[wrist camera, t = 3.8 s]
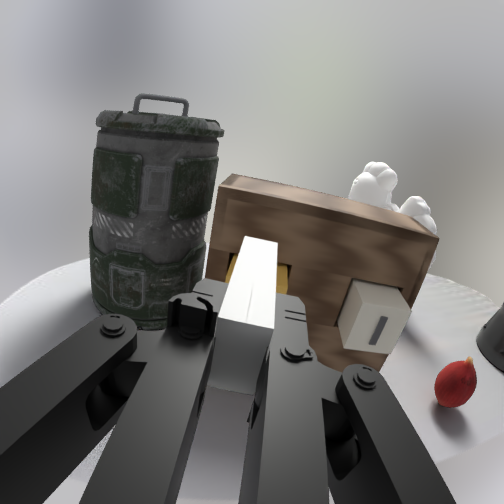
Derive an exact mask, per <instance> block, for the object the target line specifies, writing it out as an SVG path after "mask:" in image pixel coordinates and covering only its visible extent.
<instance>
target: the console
mask: <svg viewBox="0 0 504 504" xmlns="http://www.w3.org/2000/svg"><path fill="white" fill-rule="evenodd" d="M245 236H248V237H253V238H257V239H262V240H267V241H271V242H276V243H278V246H277V262H280V263H284V264H287V279H288V289H287V293H286V295H290V296H295V297H299V299H300V300H301V301H302V303H303V304H304V305H305V313H306V314H305V315H306V323H307V332H308V342H309V346H310V347H311V348H312V349H313V350H314V351H315V353H316V356H317V361H318V362H320V363H321V364H323V365H325V366H327V367H329V368H331V369H334V370H337V371H339V372H343V370H344V369H345V368H346V367H347V366H349V365H353V364H363V365H366V366H369V367H372V368H373V369H375V370H376V371H378V372H379V371H380V369H381V367H382V366H383V364H384V362H385V360H386V358H387V357H388V355H389V354H384V353H375V352H367V351H360V350H352V349H345V348H343V343H342V339H341V335H340V331H339V327H338V322H337V317H338V315H339V312H340V309H341V307H342V304H343V301H344V299H345V296H346V293H347V290H348V288H349V285H350V282H351V279H352V278H357V279H362V280H367V281H372V282H377V283H382V284H387V285H392V286H396V287H397V288H398V290H399V291H400V293H401V295H402V296H403V298H404V299H405V301H406V303H407V304H408V306H409V307H410V309H411V308H412V306H413V304H414V302H415V299H416V297H417V295H418V292H419V290H420V288H421V285H422V283H423V281H424V278H425V276H426V273H427V271H428V268H429V266H430V263H431V261H432V258H433V255H434V253H435V250H436V247H437V244H438V242H439V238H438V237H437V236H436V235H435V234H433V233H432V232H431V231H430V230H428V229H427V228H426V227H424V226H423V225H422V224H421V223H419V222H418V221H417V220H415V219H414V218H413V217H411V216H408V215H405V214H402V213H398V212H395V211H391V210H387V209H384V208H380V207H377V206H373V205H369V204H365V203H362V202H358V201H354V200H350V199H346V198H342V197H338V196H334V195H330V194H326V193H322V192H317V191H313V190H309V189H304V188H300V187H295V186H291V185H286V184H282V183H277V182H272V181H267V180H262V179H257V178H253V177H247V176H242V175H237V174H231V175H230V176H229V177H228V178H227V179H226V180H225V181H224V182H222V183H221V184H220V185H219V187H218V193H217V199H216V206H215V212H214V218H213V225H212V231H211V238H210V245H209V252H208V259H207V266H206V274H205V278H207V279H211V280H216V281H220V282H225V280H226V275H227V272H228V270H229V267H230V264H231V261H232V259H233V256H234V253H236V254H239V252H240V249H241V246H242V243H243V240H244V237H245Z"/></svg>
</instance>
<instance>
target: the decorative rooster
mask: <svg viewBox="0 0 504 504" xmlns="http://www.w3.org/2000/svg"><path fill="white" fill-rule="evenodd" d="M397 181H398V177H397V174H396V173H395V172H394V171H393V170H391V169H390V167H389V166H388V165H387V164H385V163H382V162H378V163H375V162H370V163H368V164H367V165H366V166H365V168H364V170H363V173H362V174H360V175H359V176H358V177H357V178H356V179H355V180H354V182H353V185H352V188H351V190H350V194H349V196H348V199H350V200H354V201H358V202H362V203H365V204H369V205H373V206H377V207H380V208H384V209H387V210H392V211H395V212H398V213H402V214H405V215H408V216H411V217H413V218H414V219H415V220H417V221H418V222H419V223H421V224H422V225H423V226H424V227H426V228H427V229H428V230H430V231H431V232H432V233H433V234H435V235H436V233H437V228H436V225H435V222H434V221H433V219H432V218H431V217H430V214H431V210H430V208H429V207H428V206H427V203H426V202H425V201H424V200H423V199H422V198H421V197H419V196H413V197H410V198H409V199H408V200H407V201H406V202H405V203H404V204H403V205H402V206H401V208H400V209H399V208H398V207H397V205H396V204H392V203H391V198H392V190H393V189H394V187H395V186H396V184H397ZM435 259H436V251H435V253H434V255H433V258H432V261H431V263H430V266H429V268H428V270H429V269H430V268H431V265H432V263H433V262H434V261H435Z"/></svg>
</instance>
